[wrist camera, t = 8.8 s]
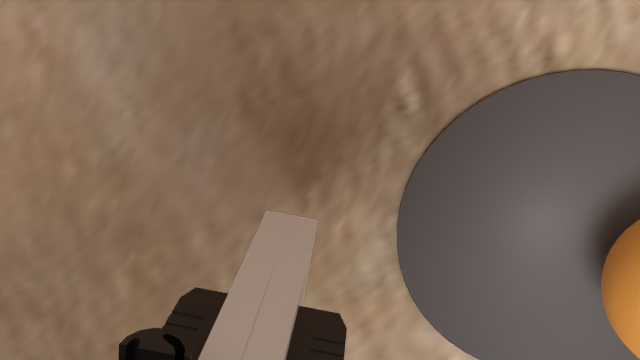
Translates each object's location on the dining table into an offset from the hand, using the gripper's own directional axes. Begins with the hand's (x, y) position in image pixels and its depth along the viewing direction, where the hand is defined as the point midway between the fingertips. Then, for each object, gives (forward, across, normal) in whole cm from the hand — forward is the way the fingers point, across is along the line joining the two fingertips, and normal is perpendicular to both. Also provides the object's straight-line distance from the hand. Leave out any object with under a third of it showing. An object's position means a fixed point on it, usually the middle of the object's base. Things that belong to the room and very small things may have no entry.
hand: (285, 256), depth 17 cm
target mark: (+5, +10, 0) cm, 11 cm away
